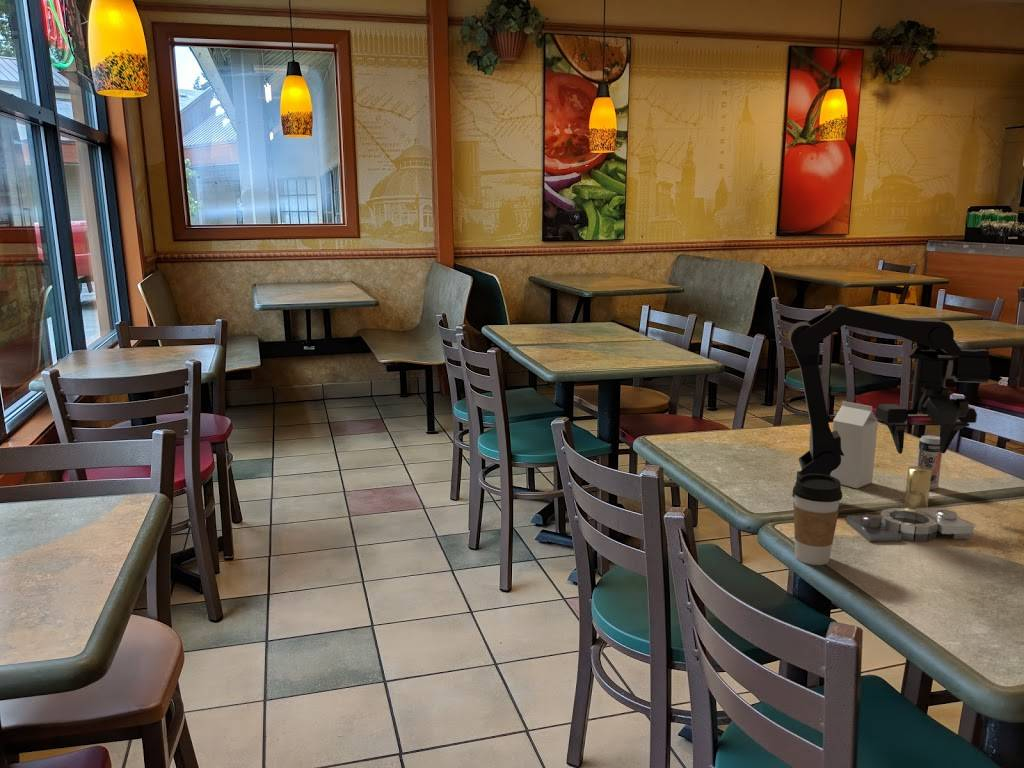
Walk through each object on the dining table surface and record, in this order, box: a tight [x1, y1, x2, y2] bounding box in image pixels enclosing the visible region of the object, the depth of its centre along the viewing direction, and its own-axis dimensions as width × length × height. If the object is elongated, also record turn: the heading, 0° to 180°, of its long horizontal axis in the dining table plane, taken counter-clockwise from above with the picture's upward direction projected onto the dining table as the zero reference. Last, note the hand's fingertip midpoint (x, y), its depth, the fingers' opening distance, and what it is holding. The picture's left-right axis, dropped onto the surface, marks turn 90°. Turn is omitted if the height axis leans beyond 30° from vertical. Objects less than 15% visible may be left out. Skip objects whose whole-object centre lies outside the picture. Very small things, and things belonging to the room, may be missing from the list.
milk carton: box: [830, 400, 879, 489], centre depth 185 cm, size 7×7×19 cm
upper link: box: [880, 507, 975, 540], centre depth 157 cm, size 15×10×4 cm, turn 92°
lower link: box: [846, 513, 938, 543], centre depth 157 cm, size 15×10×3 cm, turn 92°
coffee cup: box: [792, 474, 843, 566], centre depth 144 cm, size 8×8×15 cm
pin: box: [903, 465, 932, 510], centre depth 169 cm, size 4×4×9 cm
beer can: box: [916, 434, 943, 491], centre depth 183 cm, size 5×5×12 cm
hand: (921, 453), depth 167 cm, fingers open, 9 cm apart
